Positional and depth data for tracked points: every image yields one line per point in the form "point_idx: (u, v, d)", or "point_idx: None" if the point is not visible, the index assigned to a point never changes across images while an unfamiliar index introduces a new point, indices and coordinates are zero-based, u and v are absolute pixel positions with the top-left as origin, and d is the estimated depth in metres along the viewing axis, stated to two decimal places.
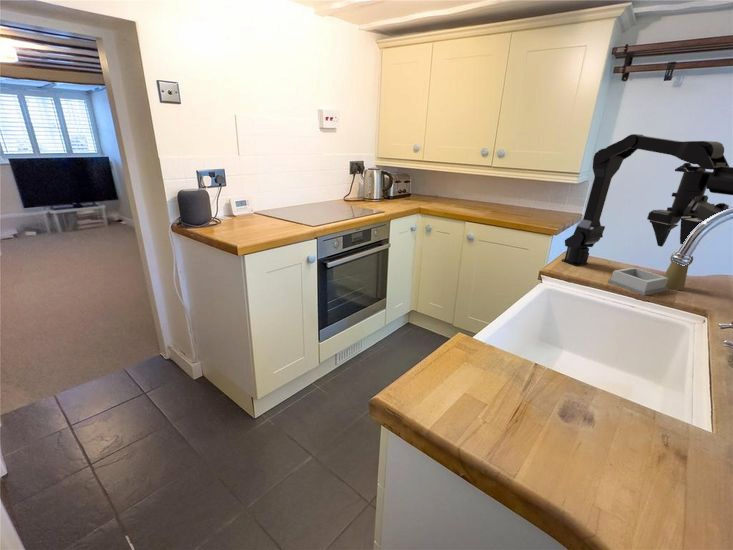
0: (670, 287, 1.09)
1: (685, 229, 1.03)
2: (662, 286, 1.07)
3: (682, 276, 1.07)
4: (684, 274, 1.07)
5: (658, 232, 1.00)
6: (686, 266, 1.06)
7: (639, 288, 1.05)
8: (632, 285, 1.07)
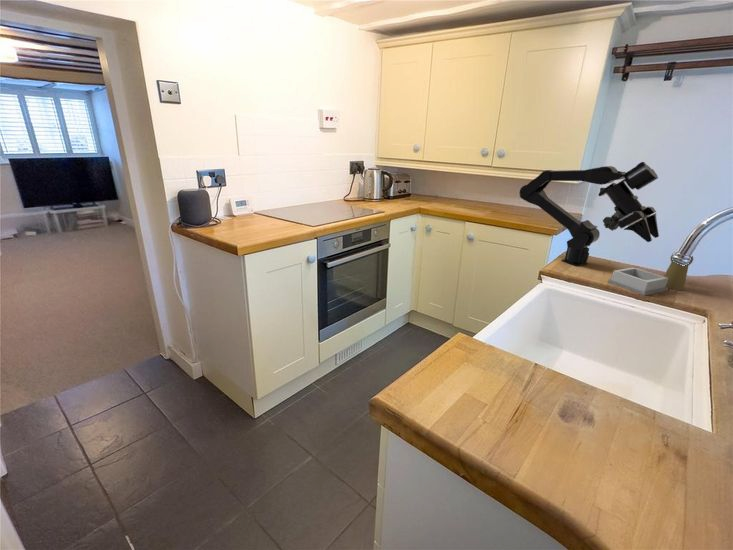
0: (670, 287, 1.09)
1: None
2: (662, 286, 1.07)
3: (682, 276, 1.07)
4: (684, 274, 1.07)
5: None
6: (686, 266, 1.06)
7: (639, 288, 1.05)
8: (632, 285, 1.07)
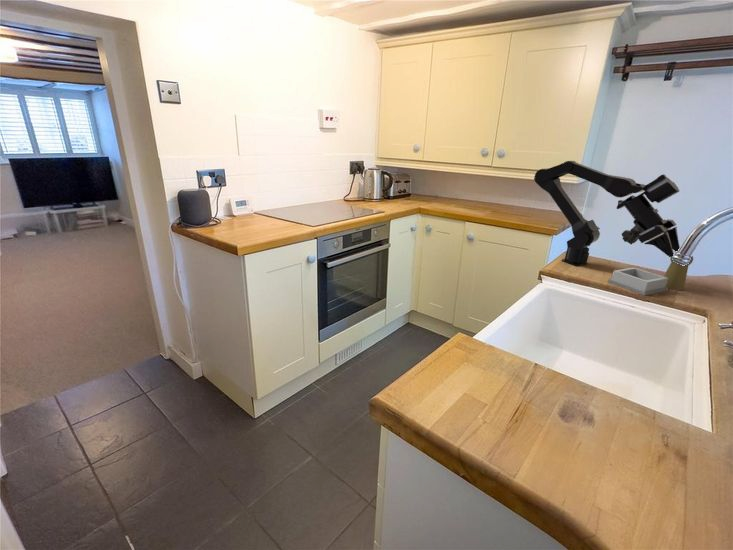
0: (670, 287, 1.09)
1: None
2: (662, 286, 1.07)
3: (682, 276, 1.07)
4: (684, 274, 1.07)
5: None
6: (686, 266, 1.06)
7: (639, 288, 1.05)
8: (632, 285, 1.07)
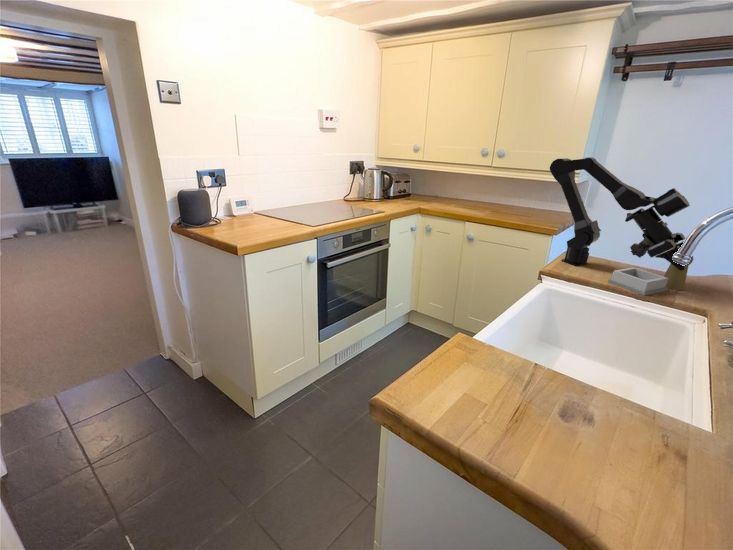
0: (670, 287, 1.09)
1: None
2: (662, 286, 1.07)
3: (682, 276, 1.07)
4: (684, 274, 1.07)
5: None
6: (686, 266, 1.06)
7: (639, 288, 1.05)
8: (632, 285, 1.07)
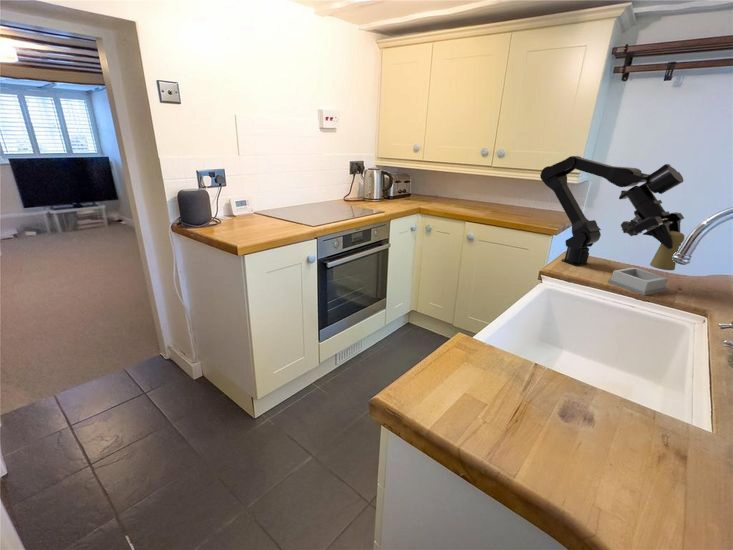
0: (658, 266, 1.06)
1: None
2: (662, 286, 1.07)
3: (671, 255, 1.04)
4: None
5: None
6: (676, 245, 1.03)
7: (639, 288, 1.05)
8: (632, 285, 1.07)
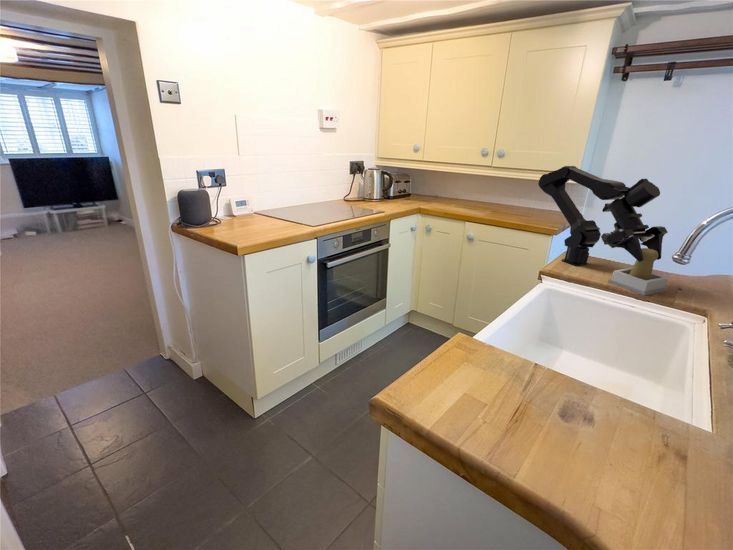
0: None
1: None
2: (662, 286, 1.07)
3: (644, 272, 1.06)
4: (646, 270, 1.06)
5: None
6: (649, 262, 1.05)
7: (639, 288, 1.05)
8: (632, 285, 1.07)
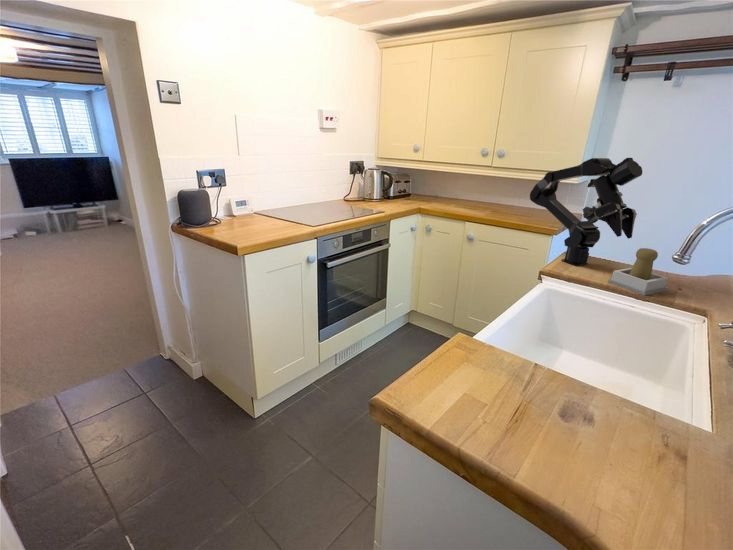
0: None
1: None
2: (662, 286, 1.07)
3: (644, 272, 1.06)
4: (646, 270, 1.06)
5: None
6: (648, 262, 1.06)
7: (639, 288, 1.05)
8: (632, 285, 1.07)
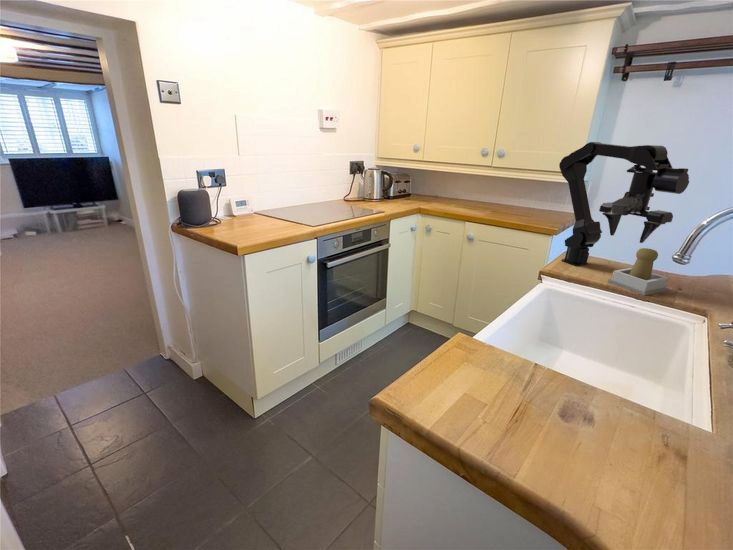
0: None
1: None
2: (662, 286, 1.07)
3: (644, 272, 1.06)
4: (646, 270, 1.06)
5: None
6: (648, 262, 1.05)
7: (639, 288, 1.05)
8: (632, 285, 1.07)
